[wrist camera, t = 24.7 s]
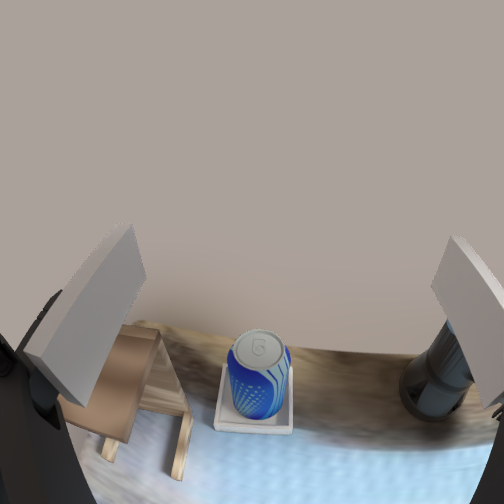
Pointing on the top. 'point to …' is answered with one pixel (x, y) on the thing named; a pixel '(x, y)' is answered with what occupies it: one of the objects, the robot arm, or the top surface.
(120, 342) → the dock
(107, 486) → the top surface
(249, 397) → the beer can
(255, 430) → the tray
